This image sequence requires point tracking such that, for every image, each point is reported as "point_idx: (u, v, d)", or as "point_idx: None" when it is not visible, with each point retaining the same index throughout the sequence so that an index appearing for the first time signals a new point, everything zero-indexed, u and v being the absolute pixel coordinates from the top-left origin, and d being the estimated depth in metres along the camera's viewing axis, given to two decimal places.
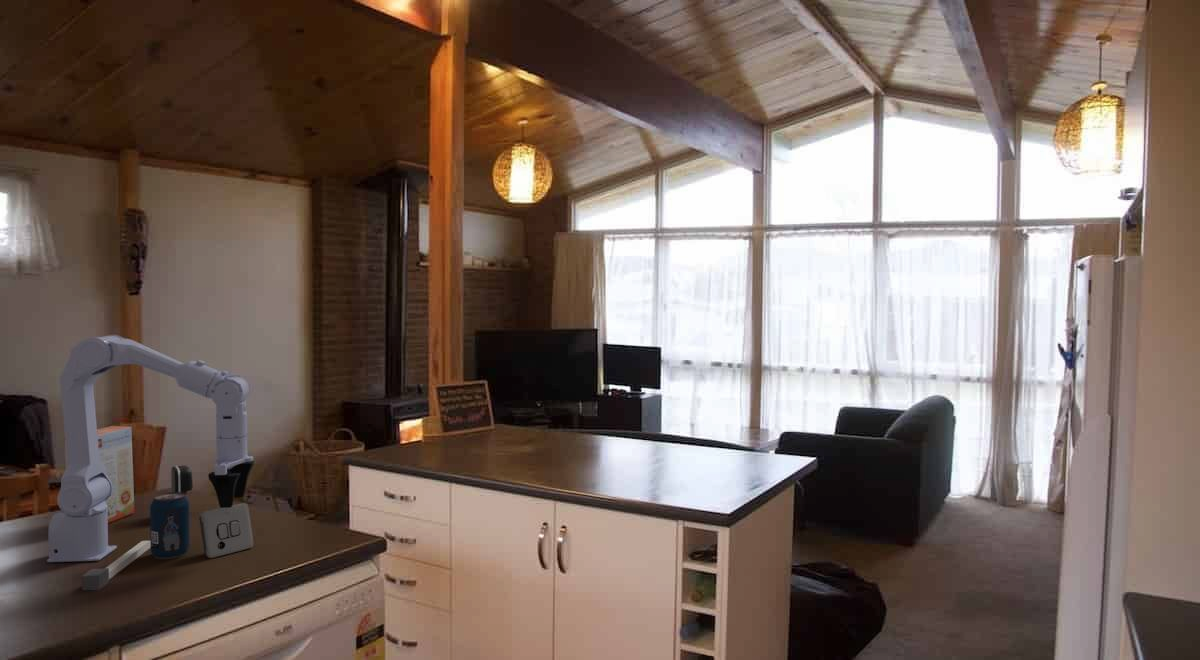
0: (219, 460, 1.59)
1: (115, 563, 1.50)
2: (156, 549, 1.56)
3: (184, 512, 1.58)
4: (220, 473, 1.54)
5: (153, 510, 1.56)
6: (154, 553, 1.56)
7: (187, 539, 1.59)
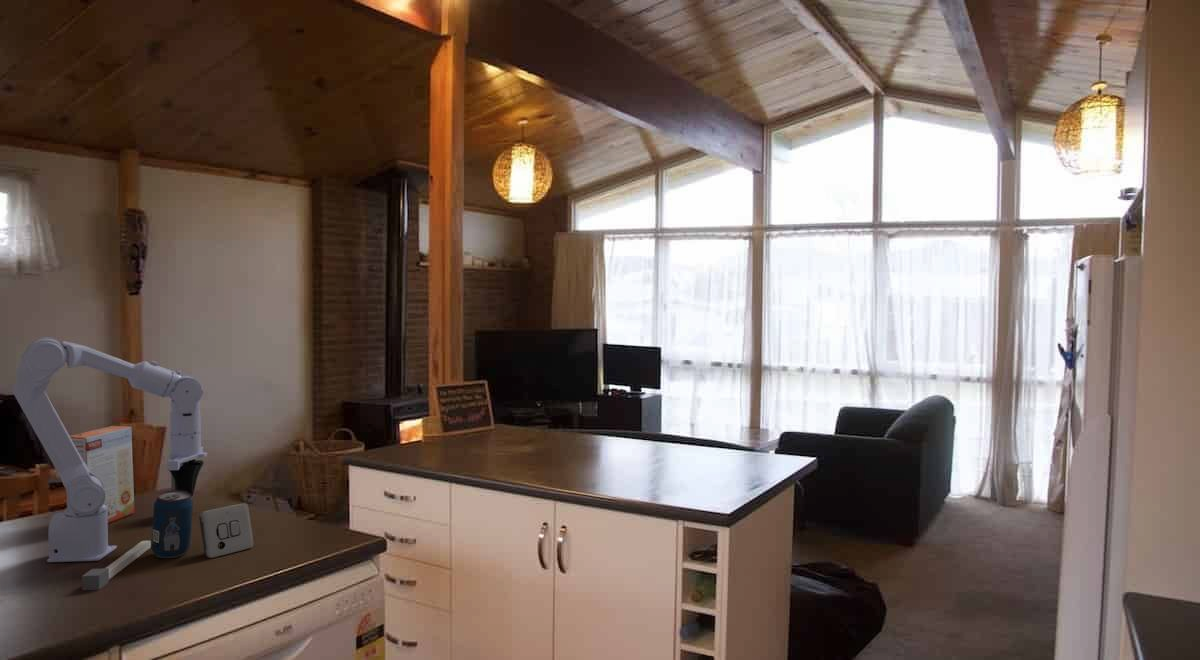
0: (173, 456, 1.65)
1: (115, 563, 1.50)
2: (156, 547, 1.56)
3: (186, 513, 1.57)
4: (173, 468, 1.60)
5: (156, 509, 1.55)
6: (154, 551, 1.56)
7: (188, 540, 1.59)
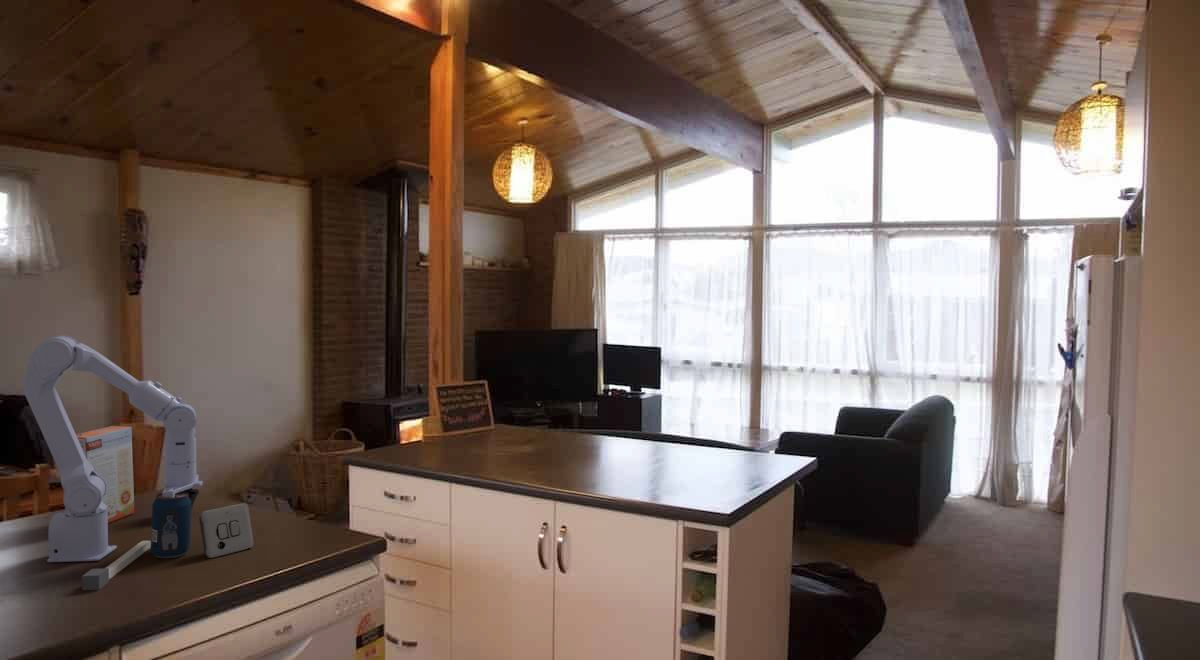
0: (168, 485, 1.62)
1: (115, 563, 1.50)
2: (155, 547, 1.56)
3: (184, 512, 1.58)
4: None
5: (154, 508, 1.56)
6: (153, 551, 1.57)
7: (186, 539, 1.59)
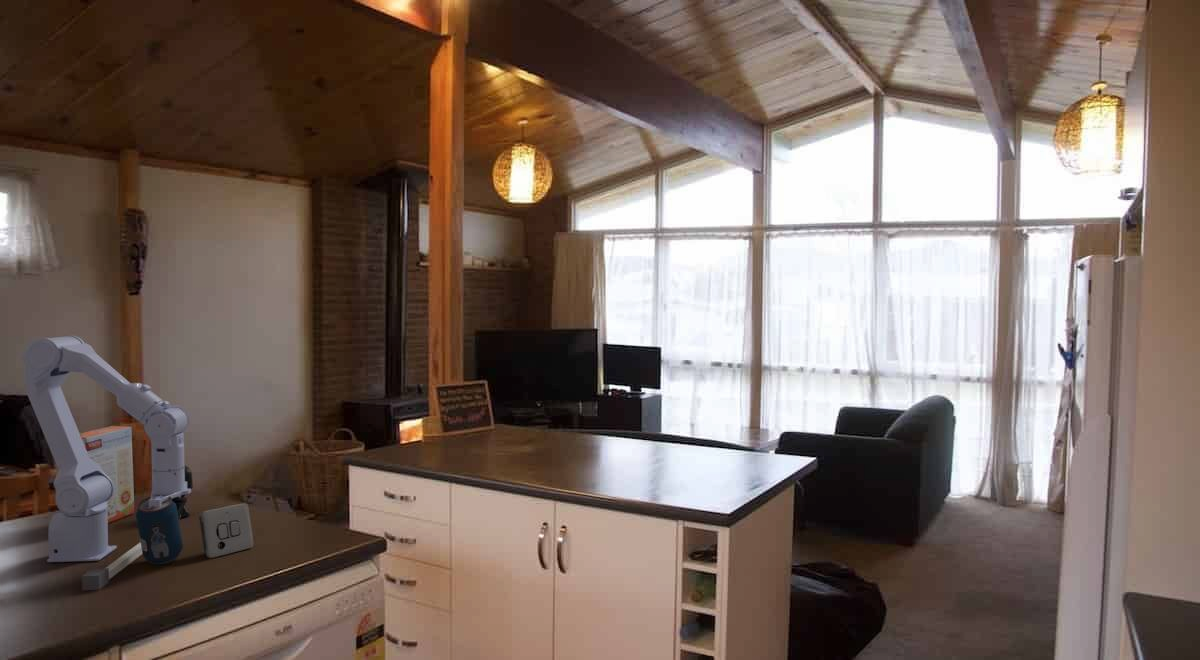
0: (155, 494, 1.55)
1: (115, 563, 1.50)
2: (146, 555, 1.52)
3: (170, 521, 1.52)
4: None
5: (138, 520, 1.50)
6: (145, 558, 1.53)
7: (177, 544, 1.54)
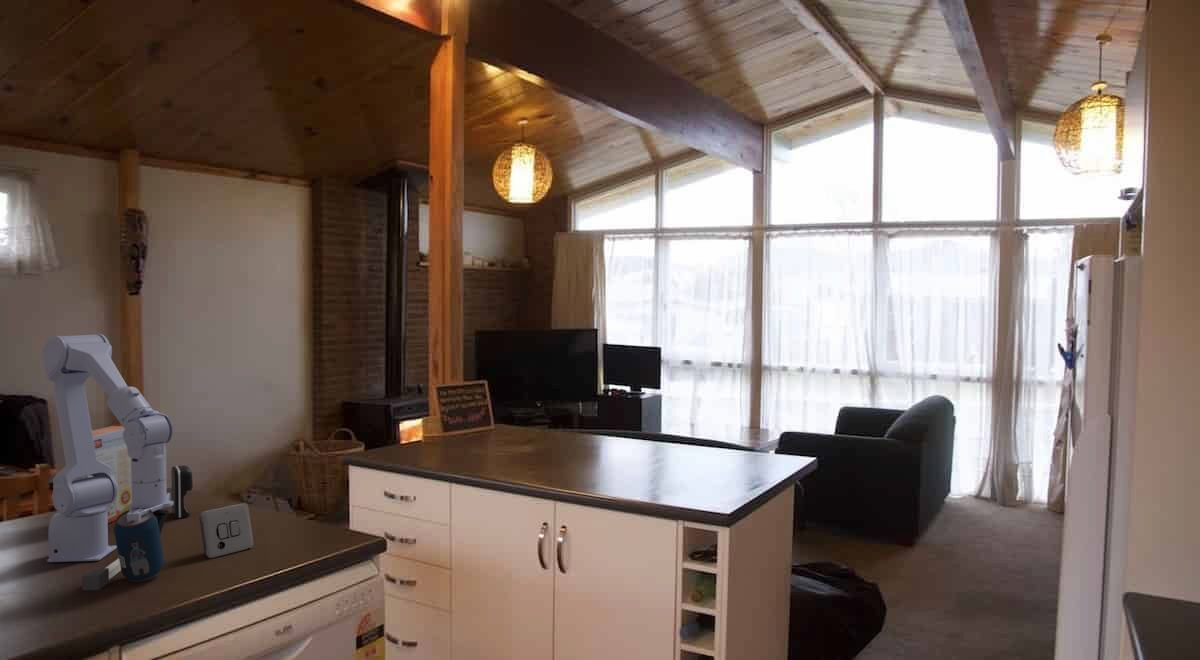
0: (134, 506, 1.46)
1: (115, 563, 1.50)
2: (125, 572, 1.43)
3: (150, 535, 1.43)
4: None
5: (116, 535, 1.41)
6: (124, 575, 1.44)
7: (158, 560, 1.45)
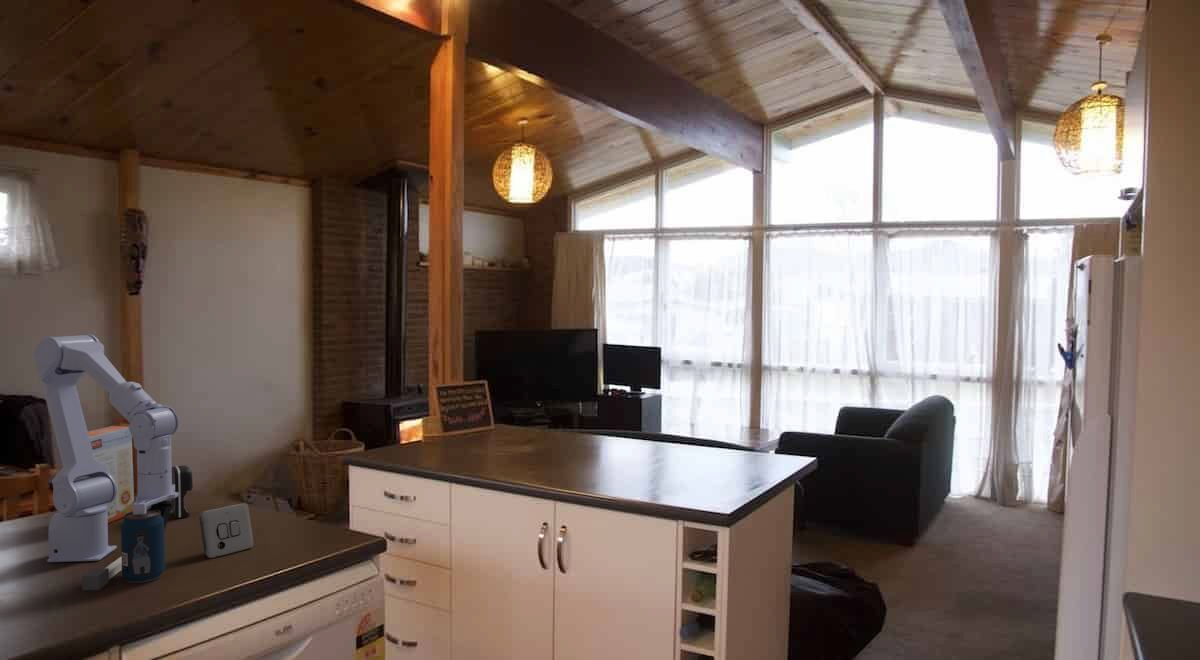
0: (140, 497, 1.49)
1: (115, 563, 1.50)
2: (126, 571, 1.43)
3: (156, 532, 1.45)
4: (139, 512, 1.45)
5: (122, 529, 1.43)
6: (124, 576, 1.44)
7: (160, 561, 1.46)
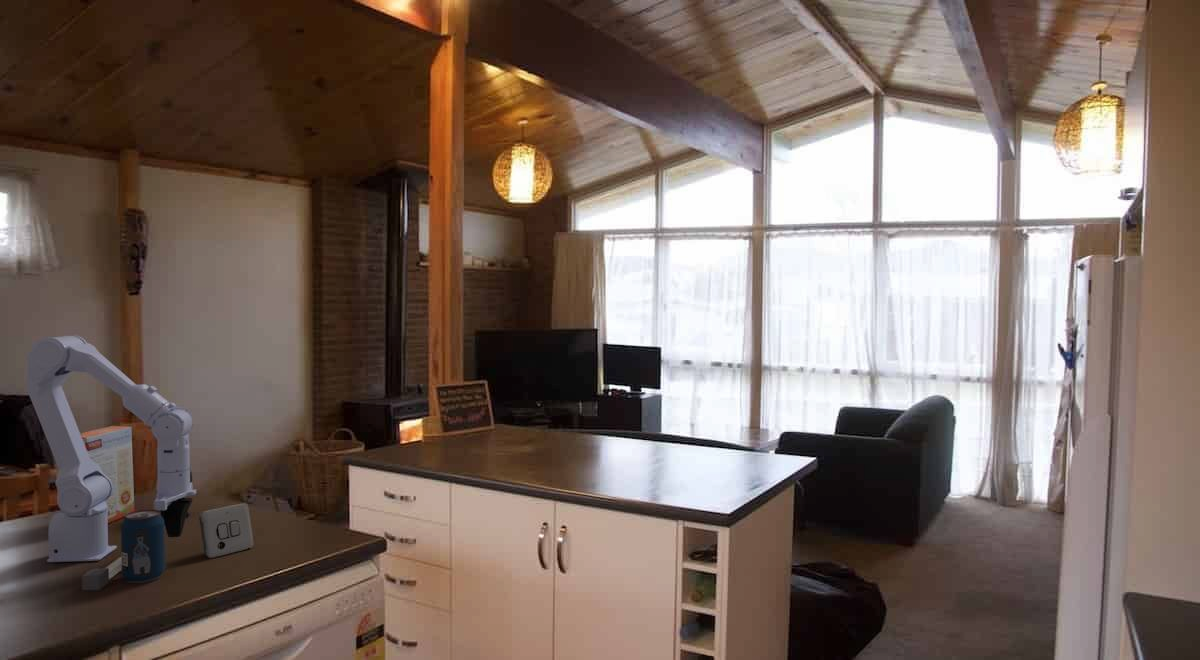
0: (160, 494, 1.57)
1: (115, 563, 1.50)
2: (126, 572, 1.43)
3: (156, 532, 1.45)
4: (160, 508, 1.53)
5: (122, 530, 1.43)
6: (124, 576, 1.44)
7: (160, 562, 1.46)
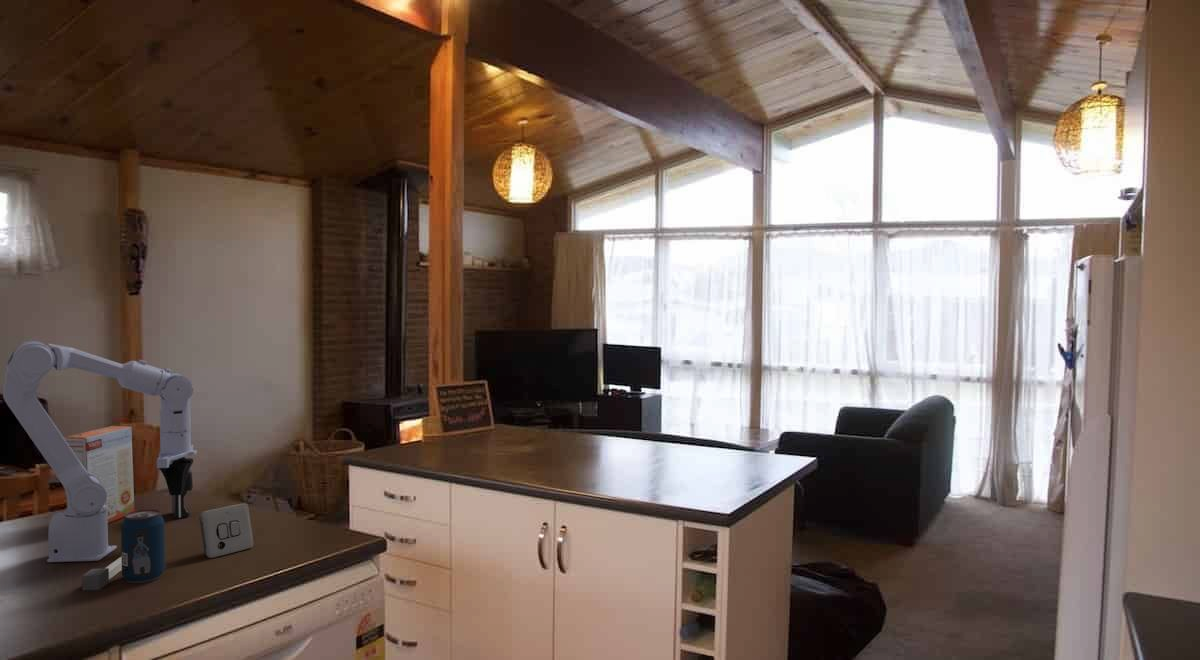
0: (162, 454, 1.64)
1: (115, 563, 1.50)
2: (126, 571, 1.43)
3: (156, 532, 1.45)
4: (162, 466, 1.60)
5: (122, 530, 1.43)
6: (124, 576, 1.44)
7: (160, 562, 1.46)
